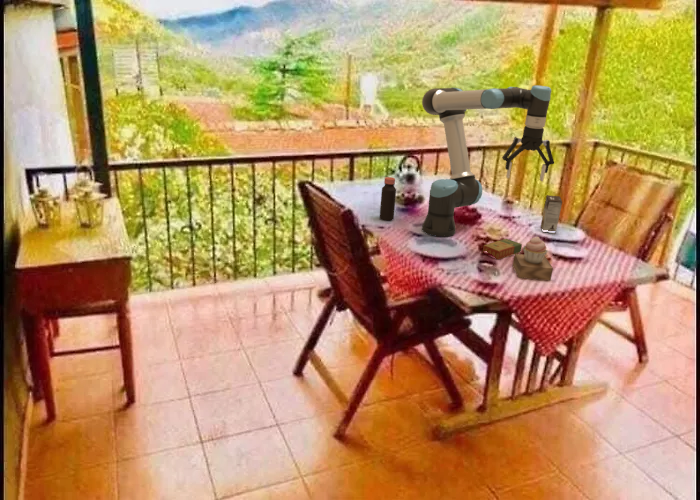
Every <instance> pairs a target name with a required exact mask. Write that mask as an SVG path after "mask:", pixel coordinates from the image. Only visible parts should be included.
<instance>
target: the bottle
mask: <svg viewBox="0 0 700 500" xmlns="http://www.w3.org/2000/svg"><path fill="white" fill-rule="evenodd" d="M383 183H384V186H383V187H382V188H381V196H380V206H379V220H381V221H385V222H391V221H393V220H394V218H395V210H396V209H395V207H396V206H395V205H396V197H397V196H396V194H397V189H396V187H395V183H396V178H394V177H393V176H392V177H391V176H386V177H384V182H383Z"/></svg>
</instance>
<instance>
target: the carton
mask: <svg viewBox="0 0 700 500" xmlns="http://www.w3.org/2000/svg"><path fill="white" fill-rule="evenodd" d="M522 246H523V244H522V243H520V242H518V241H515V240H512V239H509V238H503V239H501V240H500V239H499V240H498V241H494V242H491V243H488V244H484V245H483V247H482V248H483V249H482V252H483V251H487V252H488V253H490V254H492V255H493V256H494V257H495V258H496V259H495V258H494V259H495V260H502V259H504V258H508V257H510V256H513V255H514V254H520V253H521V252H522V248H523V247H522ZM520 251H521V252H520ZM519 252H520V253H519Z"/></svg>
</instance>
